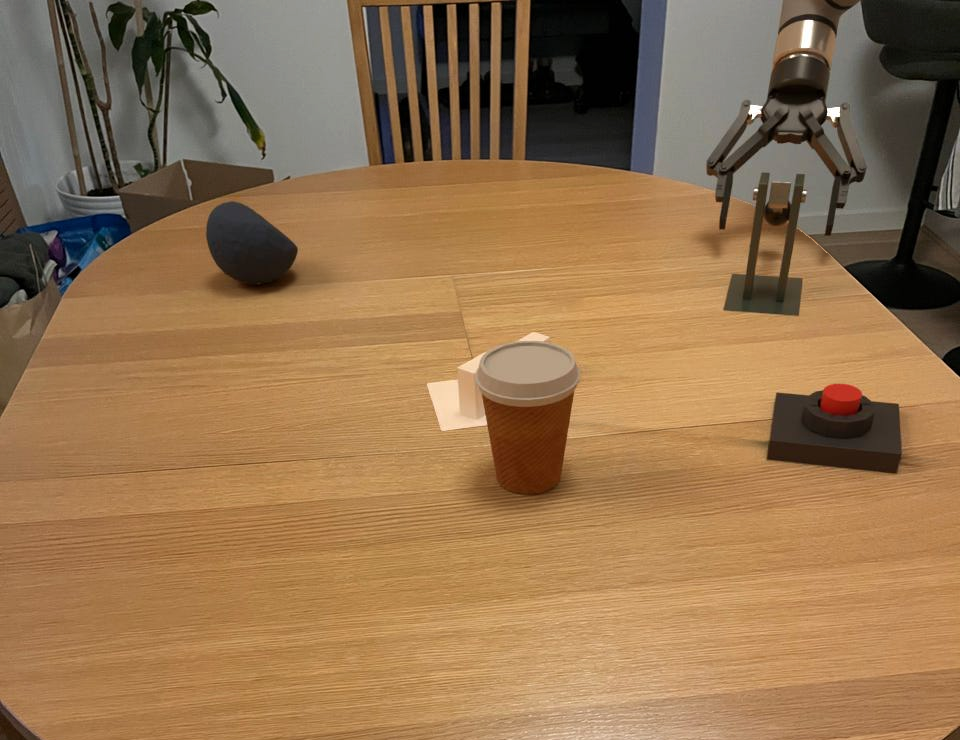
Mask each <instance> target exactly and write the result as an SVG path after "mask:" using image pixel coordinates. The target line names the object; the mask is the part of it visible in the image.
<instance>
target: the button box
mask: <svg viewBox="0 0 960 740" xmlns="http://www.w3.org/2000/svg"><path fill="white" fill-rule="evenodd" d="M823 390H824V389H823ZM823 390H817V391H814V392H812V393H810V394H809V395H808V394H799V393H788V392H775V398H774V404H773V411H772V412H773V414H772V420H771V427H770V435H769V441H768V445H767V453H766V460H769V461H776V462H786V463H795V464H804V465H813V466H823V467H832V468H839V469H840V468H841V469H851V470H860V471H867V472H868V471H869V472H878V473H887V474H897V473H898V471H899V466H900V463H901V459H902V456H903V449H902V431H901V417H900V416H901V415H900V404H899V403H894V402H886V401H885V402H884V401H874V400H871V399H870V398H868V397H867V396H866V395H863V394H862V398H861V402H860V406H859V410H858V412H857V414H853V415H847V416H841V415H833V414H830V413H827V412H824V411H823V410H821V409H820V403H821V399H822V394H823Z"/></svg>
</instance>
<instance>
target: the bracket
mask: <svg viewBox="0 0 960 740" xmlns="http://www.w3.org/2000/svg"><path fill="white" fill-rule="evenodd" d="M770 176H771V172H761V173H760V178H759V181H758V185H757V186H756V187H755V186H754V187H753V193H752V201H755V206H754V207H755V208H754V214H753V222H752V228H751V234H750V243H749V249H748V250H749V251H748V256H747V263H746V270H745V274H743V273H731V276H730V281H729V285H728V289H727V293H726V296H725V301H724V305H723V309H722V311H724V312H739V313H751V314H765V315H777V316H778V315H779V316H791V317H799V316H800V311H801V310H800V308H801V299H802V289H803V281H804V278H803V277H793V276H791V277H790V276H789V273H790V268H791V261H792V256H793V251H794V243H795V240H796V239H795V238H796V232H797V226H798V220H799V216H800V209H801V204H805V203H806V200H807V193H808V189H804V186H805V178H806V174H805V173H796V174H795V180H794V186H793V191H792V197H791V202H790V203H791V209H790V215H789V220H788V221H787V227H786V234H785V239H784V246H783V252H782V257H781V263H780V269H779V270H780V271H779V274H778V275H779V276H775V275H760V274H756V270H757V262H758V256H759V250H760V244H761V236H762V230H763V224H764V223H763V222H764V210H765V206H766V204H767V196H768V189H769V184H770V183H769V182H770Z"/></svg>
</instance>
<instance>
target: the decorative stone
mask: <svg viewBox="0 0 960 740" xmlns="http://www.w3.org/2000/svg"><path fill="white" fill-rule="evenodd" d="M205 237H206V242H207V243H206V244H207V247H208V250H209V253H210V255H211V257H212V260H213V262H214V263H215V264H216V266H217V267H218V268H219V270H221V272H223V273H224V274H225V275H227V276H228V277H230V278H231V279H233V280H234V281H237V282H239V283H243V282H246V283H247V284H251V285H259V284H258V283H265V284H268V283H267V282H269V283H271V282H270V281H272V282H274V281H276V280H277V278H278V279H280V278H281V277H283V276H284V275H285V274H286V273H287V272H288V271H289V270H290V269H291V267H293V264H294V263H295V261H296V258H297V255H298V250H299V248H298V246H297V245H296V244H295V242H293V241H292V240H291V238H290V237H288V236H287V235H286V234H284V233H283V231H280V229H279V228H277V227H276V226H274V225H273V224H272V223H271V222H269V220H267V219H266V218H265V217H263V216H262V215H261V214H260V213H257V212H256V211H255V210H254V209H253V208H251V207H249V206H248V205H246V204H243V203H242V202H239V201H233V200H231V201H227V202H222V203H220V204H218V205H216V206H215V207H214V208H213V209H212V210H211V212H210V214H209V215H208V217H207V222H206V231H205ZM279 277H280V278H279ZM275 279H276V280H275ZM273 280H274V281H273Z"/></svg>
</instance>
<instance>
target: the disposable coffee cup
mask: <svg viewBox="0 0 960 740" xmlns="http://www.w3.org/2000/svg"><path fill="white" fill-rule="evenodd" d="M516 341H517V342H516ZM516 341H511V342H506V343H503V344H499V345H497V346H494V347H492V348H490V349H489V350H487V351H485V352H486V353H485V354H484V355H483V356H482V358H481V360H480V363H479V368H478V369H477V371H476V373H475V381H476V384H477V386H478V387H479V390H480V391H481V393H482V398H483V404H484V410H485V415H486V421H487V425H486V426H487V432H488V437H489V443H490V449H491V453H492V459H493V465H494V471H495V479H496V482H497V483H498V485H499V486H500V487H502V488H503V489H505V490H507V491H510V492H511V493H515V494H521V495H532V494H533V495H534V494H540V493H544V492H547V491H549V490H551V489H553V488H555V487H556V486H557V485H558V484H559V483H560V481H561V479H562V471H563V467H564V466H563V464H564V459H565V454H566V448H567V447H566V445H567V439H568V433H569V428H570V421H571V415H572V410H573V409H572V408H573V402H574V395H575V391H576V389H577V387H578V384H579V383H580V380H581V370H580V367H579V366H578V365H577V360H576V357H575V355H574V353H573V352H571V350H569V349H568V348H566V347H565V346H563V345H562V346H561V345H559V344H556V343H553V342H550V343H549V342H543V341H518V340H516Z"/></svg>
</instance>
